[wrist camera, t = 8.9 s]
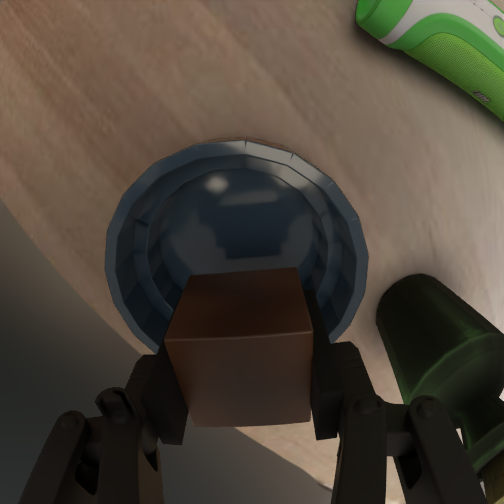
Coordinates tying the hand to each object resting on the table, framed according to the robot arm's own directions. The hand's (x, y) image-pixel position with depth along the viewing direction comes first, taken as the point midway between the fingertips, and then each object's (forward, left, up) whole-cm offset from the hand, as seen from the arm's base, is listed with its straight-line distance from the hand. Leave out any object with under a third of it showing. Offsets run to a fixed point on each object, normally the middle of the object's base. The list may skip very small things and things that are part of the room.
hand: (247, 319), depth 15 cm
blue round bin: (-1, +1, -7) cm, 7 cm away
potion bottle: (+14, -1, -8) cm, 16 cm away
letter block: (0, 0, 0) cm, 0 cm away
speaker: (+11, +19, -8) cm, 23 cm away
